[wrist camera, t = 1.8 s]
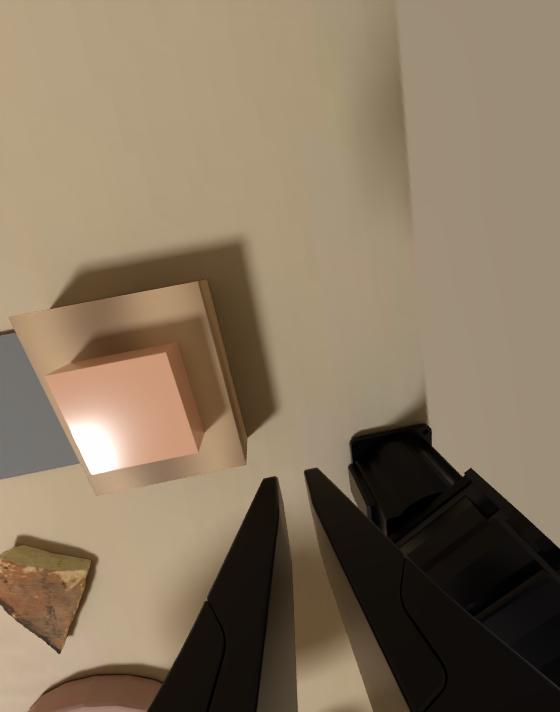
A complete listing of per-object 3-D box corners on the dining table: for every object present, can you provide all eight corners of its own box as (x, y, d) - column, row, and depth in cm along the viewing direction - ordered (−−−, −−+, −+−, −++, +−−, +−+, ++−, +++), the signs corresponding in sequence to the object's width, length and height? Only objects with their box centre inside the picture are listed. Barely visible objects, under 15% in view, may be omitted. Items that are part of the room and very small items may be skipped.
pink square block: (176, 342, 16) (165, 352, 14) (204, 432, 17) (198, 452, 16) (70, 363, 15) (44, 376, 13) (109, 451, 17) (91, 474, 15)
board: (207, 279, 18) (197, 281, 15) (247, 438, 21) (246, 464, 18) (49, 309, 17) (8, 317, 14) (117, 465, 21) (96, 496, 18)
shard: (70, 634, 27) (57, 659, 25) (-19, 619, 25) (-39, 645, 23) (99, 555, 24) (88, 577, 22) (2, 533, 23) (-18, 555, 21)
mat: (51, 325, 18) (48, 326, 17) (109, 454, 21) (107, 457, 20) (-92, 352, 17) (-98, 354, 17) (-12, 479, 20) (-16, 482, 20)
